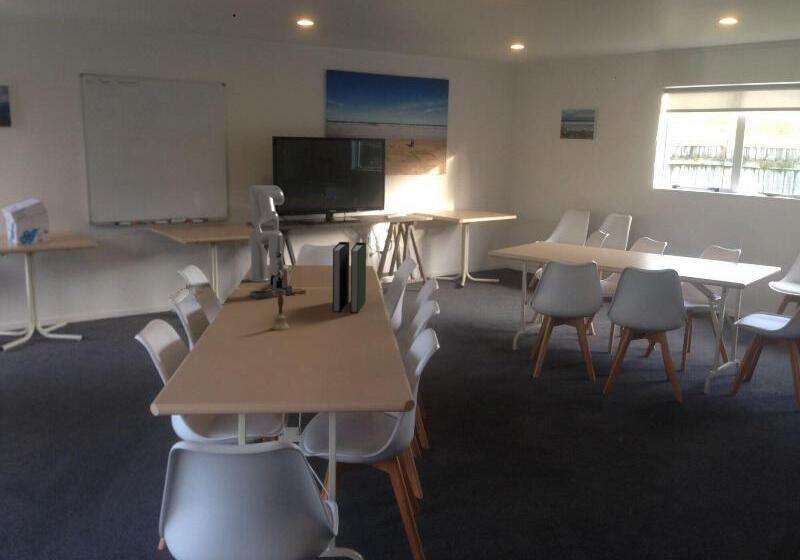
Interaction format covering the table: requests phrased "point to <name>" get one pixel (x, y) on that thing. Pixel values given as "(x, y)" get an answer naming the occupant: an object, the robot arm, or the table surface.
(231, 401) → the table surface
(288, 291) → the gray rectangular block
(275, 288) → the dowel
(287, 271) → the stack of blocks
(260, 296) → the tray
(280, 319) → the hand bell
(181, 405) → the table surface
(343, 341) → the table surface
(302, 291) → the board
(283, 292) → the socket
